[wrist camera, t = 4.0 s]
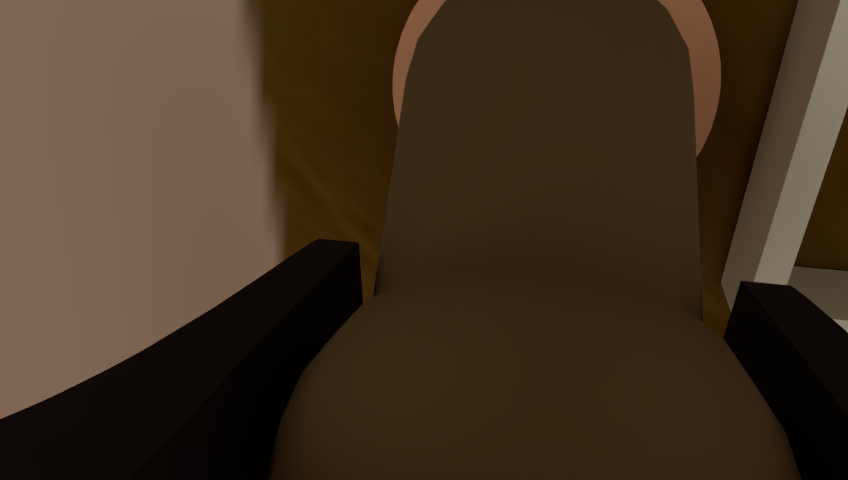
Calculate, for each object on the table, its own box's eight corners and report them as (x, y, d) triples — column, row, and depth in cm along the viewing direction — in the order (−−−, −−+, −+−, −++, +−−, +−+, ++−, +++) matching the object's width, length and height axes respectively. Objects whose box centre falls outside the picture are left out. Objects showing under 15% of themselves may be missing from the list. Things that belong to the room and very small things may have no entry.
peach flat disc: (679, 232, 19) (684, 250, 19) (404, 209, 21) (397, 224, 20) (749, -81, 15) (760, -76, 14) (395, -83, 16) (386, -80, 16)
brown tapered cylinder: (391, 192, 16) (191, 718, 7) (424, -71, 12) (92, 380, 4) (636, 243, 16) (722, 853, 7) (746, -10, 12) (1212, 635, 3)
